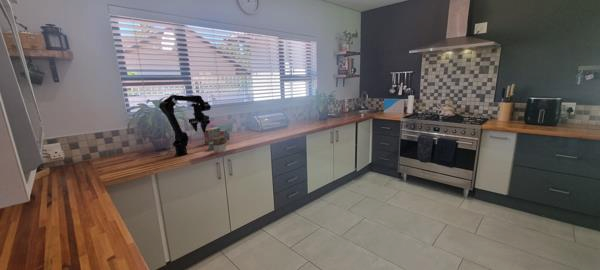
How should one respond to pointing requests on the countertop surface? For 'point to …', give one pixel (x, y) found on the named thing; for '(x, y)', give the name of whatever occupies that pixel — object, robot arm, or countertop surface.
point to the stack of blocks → (214, 134)
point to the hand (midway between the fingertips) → (200, 132)
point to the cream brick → (219, 148)
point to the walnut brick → (219, 140)
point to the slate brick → (211, 146)
